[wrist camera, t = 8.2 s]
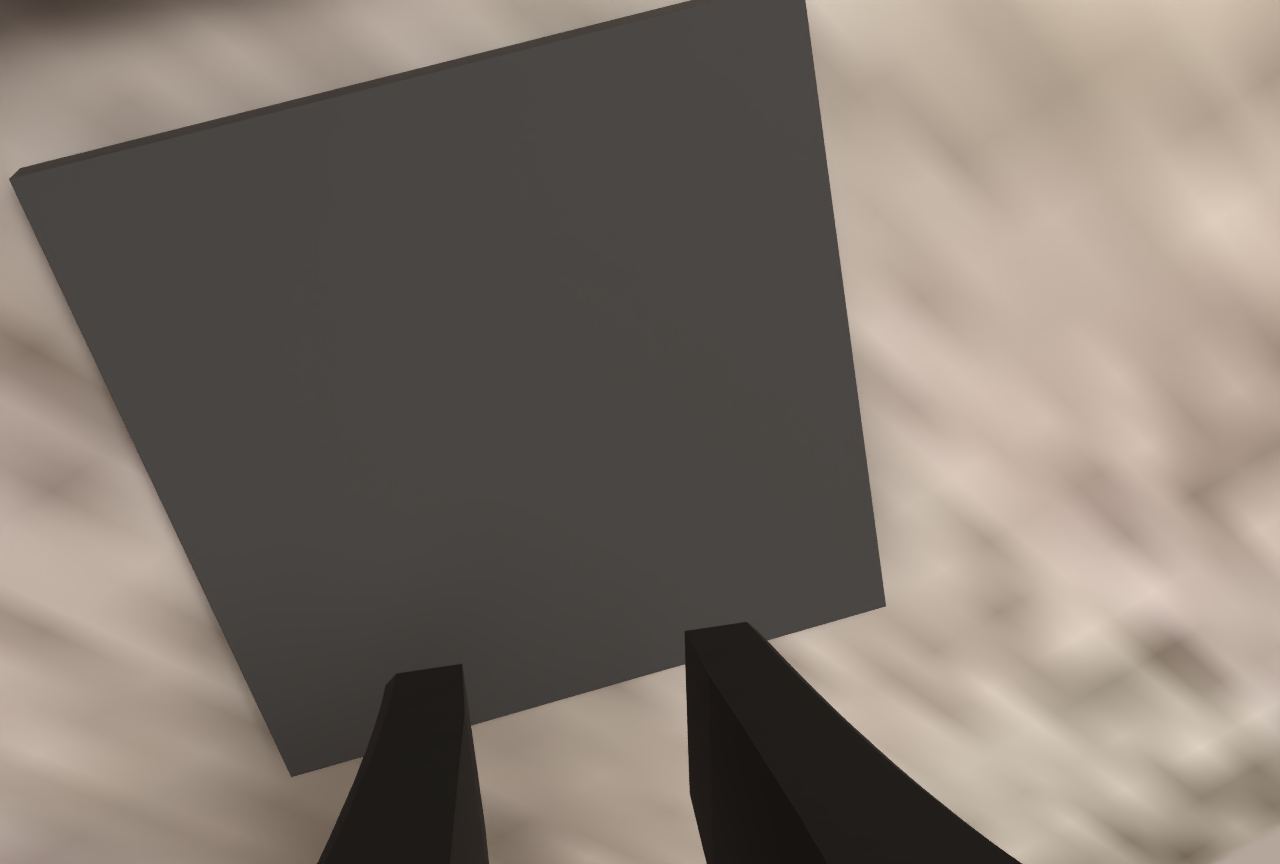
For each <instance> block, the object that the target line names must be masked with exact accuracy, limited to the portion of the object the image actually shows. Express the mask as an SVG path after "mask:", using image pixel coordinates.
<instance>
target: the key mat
mask: <svg viewBox="0 0 1280 864" xmlns="http://www.w3.org/2000/svg"><path fill="white" fill-rule="evenodd" d="M9 180H10V182H11V184H12V186H13V188H14V190H15V193H16V195H17V197H18V199H19V201H20V203H21V205H22V207H23V209H24V212H25V214H26V216H27V218H28V220H29V222H30V224H31V226H32V229H33V231H34V233H35V235H36V237H37V239H38V241H39V243H40V245H41V248H42V250H43V252H44V254H45V256H46V258H47V260H48V262H49V265H50V267H51V269H52V271H53V273H54V275H55V277H56V279H57V281H58V284H59V286H60V288H61V290H62V292H63V294H64V296H65V298H66V301H67V303H68V305H69V307H70V309H71V311H72V313H73V315H74V317H75V320H76V322H77V324H78V326H79V328H80V330H81V332H82V334H83V337H84V339H85V341H86V343H87V345H88V347H89V349H90V351H91V353H92V356H93V358H94V360H95V362H96V364H97V366H98V368H99V370H100V373H101V375H102V377H103V379H104V381H105V383H106V385H107V387H108V389H109V392H110V394H111V396H112V398H113V400H114V402H115V404H116V406H117V409H118V411H119V413H120V415H121V417H122V419H123V421H124V423H125V425H126V428H127V430H128V432H129V434H130V436H131V438H132V440H133V442H134V445H135V447H136V449H137V451H138V453H139V455H140V457H141V459H142V461H143V464H144V466H145V468H146V470H147V472H148V474H149V476H150V478H151V481H152V483H153V485H154V487H155V489H156V491H157V493H158V495H159V497H160V500H161V502H162V504H163V506H164V508H165V510H166V512H167V514H168V517H169V519H170V521H171V523H172V525H173V527H174V529H175V531H176V533H177V536H178V538H179V540H180V542H181V544H182V546H183V548H184V550H185V553H186V555H187V557H188V559H189V561H190V563H191V565H192V567H193V570H194V572H195V574H196V576H197V578H198V580H199V582H200V584H201V586H202V589H203V591H204V593H205V595H206V597H207V599H208V601H209V603H210V606H211V608H212V610H213V612H214V614H215V616H216V618H217V620H218V622H219V625H220V627H221V629H222V631H223V633H224V635H225V637H226V639H227V642H228V644H229V646H230V648H231V650H232V652H233V654H234V656H235V658H236V661H237V663H238V665H239V667H240V669H241V671H242V673H243V675H244V678H245V680H246V682H247V684H248V686H249V688H250V690H251V692H252V694H253V697H254V699H255V701H256V703H257V705H258V707H259V709H260V711H261V714H262V716H263V718H264V720H265V722H266V724H267V726H268V728H269V730H270V733H271V735H272V737H273V739H274V741H275V743H276V745H277V747H278V750H279V752H280V754H281V756H282V758H283V760H284V762H285V764H286V766H287V769H288V771H289V773H290V775H291V777H293V776H297V775H300V774H304V773H307V772H311V771H314V770H318V769H321V768H325V767H328V766H332V765H335V764H339V763H342V762H345V761H349V760H352V759H356V758H359V757H363V756H364V755H365V752H366V749H367V747H368V744H369V741H370V738H371V735H372V732H373V729H374V726H375V723H376V720H377V717H378V713H379V710H380V707H381V703H382V699H383V694H384V690H385V685H386V684H387V683H388V682H389V681H390V680H391V679H392V678H393V677H394V675H395V674H396V673H403V672H409V671H416V670H423V669H430V668H437V667H443V666H450V665H457V664H462V665H463V672H464V679H465V687H466V694H467V701H468V708H469V715H470V722H471V725H474V724H478V723H481V722H485V721H488V720H492V719H495V718H499V717H502V716H506V715H509V714H513V713H516V712H520V711H523V710H527V709H530V708H533V707H537V706H540V705H544V704H547V703H551V702H554V701H558V700H561V699H565V698H568V697H572V696H575V695H579V694H582V693H586V692H589V691H593V690H596V689H600V688H603V687H607V686H610V685H614V684H617V683H621V682H624V681H627V680H631V679H634V678H638V677H641V676H645V675H648V674H652V673H655V672H659V671H662V670H666V669H669V668H673V667H676V666H680V665H683V664H685V635H684V631H687V630H694V629H701V628H708V627H715V626H721V625H728V624H735V623H742V622H748V623H749V624H750V625H751V626H753V627H754V628H755V629H756V630H758V631H759V632H760V634H761V635H762V636H763V637H764V638H765V639H766V640H770V639H774V638H777V637H781V636H784V635H788V634H791V633H795V632H798V631H802V630H805V629H809V628H812V627H815V626H819V625H822V624H826V623H829V622H833V621H836V620H840V619H843V618H847V617H850V616H854V615H857V614H861V613H864V612H868V611H871V610H875V609H878V608H882V607H885V606H886V603H885V596H884V588H883V581H882V573H881V566H880V558H879V551H878V543H877V536H876V528H875V521H874V513H873V506H872V498H871V491H870V483H869V476H868V468H867V460H866V453H865V445H864V438H863V430H862V423H861V415H860V408H859V400H858V393H857V385H856V378H855V370H854V363H853V355H852V348H851V340H850V333H849V325H848V318H847V310H846V303H845V295H844V288H843V280H842V273H841V265H840V258H839V250H838V243H837V235H836V228H835V220H834V213H833V205H832V198H831V190H830V183H829V175H828V168H827V160H826V153H825V145H824V138H823V130H822V123H821V115H820V108H819V100H818V93H817V85H816V78H815V70H814V63H813V55H812V48H811V40H810V33H809V25H808V18H807V10H806V3H805V0H691V1H687V2H683V3H679V4H675V5H671V6H667V7H663V8H659V9H655V10H651V11H647V12H643V13H639V14H635V15H631V16H627V17H623V18H619V19H615V20H611V21H607V22H603V23H599V24H595V25H591V26H587V27H583V28H579V29H575V30H571V31H567V32H563V33H559V34H555V35H551V36H547V37H543V38H539V39H535V40H531V41H527V42H523V43H519V44H515V45H511V46H507V47H503V48H499V49H495V50H491V51H487V52H483V53H479V54H475V55H471V56H467V57H463V58H459V59H455V60H451V61H447V62H443V63H439V64H435V65H431V66H427V67H423V68H419V69H415V70H411V71H407V72H403V73H399V74H395V75H391V76H387V77H383V78H379V79H375V80H371V81H367V82H363V83H359V84H355V85H351V86H347V87H343V88H339V89H335V90H331V91H327V92H323V93H319V94H315V95H311V96H307V97H303V98H299V99H295V100H291V101H287V102H283V103H279V104H275V105H271V106H267V107H263V108H259V109H255V110H251V111H247V112H243V113H239V114H235V115H231V116H227V117H223V118H219V119H215V120H211V121H207V122H203V123H199V124H195V125H191V126H187V127H183V128H180V129H176V130H172V131H168V132H164V133H160V134H156V135H152V136H148V137H144V138H140V139H136V140H132V141H128V142H124V143H120V144H116V145H112V146H108V147H104V148H100V149H96V150H92V151H88V152H84V153H80V154H76V155H72V156H68V157H64V158H60V159H56V160H52V161H48V162H44V163H40V164H36V165H32V166H28V167H24V168H20V169H19V170H18V171H17V172H16V173H15V174H14V175H13V176H12V177H11V178H10V179H9Z"/></svg>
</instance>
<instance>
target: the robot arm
mask: <svg viewBox="0 0 1280 864" xmlns="http://www.w3.org/2000/svg"><path fill="white" fill-rule="evenodd" d="M684 635H685V665H686V695H687V725H688V755H689V785H690V796H691V800H692V804H693V809H694V813H695V817H696V821H697V825H698V830H699V834H700V838H701V842H702V846H703V850H704V854H705V858H706V862H707V864H1022V863H1020V862H1019V861H1017V860H1016V859H1015V858H1013V857H1012V856H1010V855H1009V854H1007V853H1006V852H1004V851H1003V850H1002V849H1000V848H999V847H998V846H996V845H995V844H994V843H992V842H991V841H989V840H988V839H987V838H985V837H984V836H983V835H982V834H980V833H979V832H978V831H976V830H975V829H974V828H972V827H971V826H970V825H968V824H967V823H966V822H964V821H963V820H962V819H961V818H959V817H958V816H957V815H956V814H954V813H953V812H952V811H951V810H949V809H948V808H947V807H946V806H944V805H943V804H942V803H941V802H939V801H938V800H937V799H936V798H935V797H933V796H932V795H931V794H930V793H928V792H927V791H926V790H925V789H923V788H922V787H921V786H920V785H919V784H917V783H916V782H915V781H914V780H913V779H912V778H910V777H909V776H908V775H907V774H906V773H905V772H903V771H902V770H901V769H900V768H899V767H897V766H896V765H895V764H894V763H893V762H892V761H891V760H890V759H889V758H887V757H886V756H885V755H884V754H883V753H882V752H881V751H880V750H879V749H877V748H876V747H875V746H874V745H873V744H872V743H871V742H870V741H869V740H867V739H866V738H865V737H864V736H863V735H862V734H861V733H860V732H859V731H858V730H856V729H855V728H854V727H853V726H852V725H851V724H850V723H849V722H848V721H847V720H846V719H845V718H843V717H842V716H841V715H840V714H839V713H838V712H837V711H836V710H835V709H834V708H833V707H832V706H831V705H830V704H829V703H828V702H827V701H826V700H825V699H824V698H823V697H822V696H821V695H820V694H819V693H818V692H817V691H816V690H815V689H814V688H813V687H812V686H811V685H810V684H809V683H808V682H807V681H806V680H805V679H804V678H803V677H802V676H801V675H800V674H799V673H798V672H797V671H796V670H795V669H794V668H793V667H792V666H791V665H790V664H789V663H788V662H787V661H786V660H785V659H784V658H783V657H782V656H781V655H780V654H779V653H778V652H777V650H776V649H775V648H774V647H773V646H772V645H771V644H770V643H769V642H768V641H767V640H766V639H765V638H764V637H763V636H762V635H761V634H760V632H759V631H758V630H756V629H755V628H754V627H753V626H751V625H750V624H749V623H748V622H742V623H735V624H728V625H721V626H715V627H708V628H701V629H694V630H687V631H684ZM317 864H489V860H488V850H487V840H486V831H485V823H484V815H483V808H482V801H481V794H480V787H479V780H478V772H477V765H476V758H475V751H474V744H473V737H472V730H471V722H470V715H469V708H468V701H467V694H466V687H465V679H464V672H463V665H462V664H457V665H450V666H443V667H437V668H430V669H423V670H416V671H409V672H403V673H396V674H395V675H394V677H393V678H392V679H391V680H390V681H389V682H388V683H387V684H386V685H385V690H384V694H383V699H382V703H381V707H380V710H379V713H378V717H377V720H376V723H375V726H374V729H373V732H372V735H371V738H370V741H369V744H368V747H367V749H366V752H365V755H364V757H363V760H362V762H361V765H360V768H359V770H358V773H357V776H356V778H355V781H354V783H353V785H352V788H351V790H350V792H349V795H348V797H347V799H346V801H345V804H344V806H343V808H342V810H341V813H340V815H339V817H338V820H337V822H336V824H335V826H334V829H333V831H332V833H331V835H330V838H329V840H328V842H327V844H326V847H325V849H324V851H323V853H322V855H321V857H320V859H319V861H318V863H317Z"/></svg>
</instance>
